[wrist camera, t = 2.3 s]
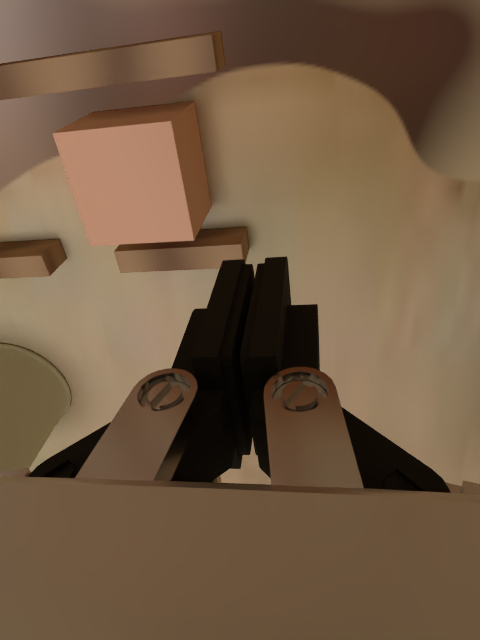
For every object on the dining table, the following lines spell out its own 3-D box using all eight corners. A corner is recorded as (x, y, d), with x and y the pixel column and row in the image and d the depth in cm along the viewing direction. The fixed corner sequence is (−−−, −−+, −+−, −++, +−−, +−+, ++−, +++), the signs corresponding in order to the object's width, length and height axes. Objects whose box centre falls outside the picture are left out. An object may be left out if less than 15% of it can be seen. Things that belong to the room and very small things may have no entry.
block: (194, 100, 25) (170, 121, 21) (211, 205, 28) (194, 240, 24) (93, 112, 26) (52, 133, 22) (121, 211, 29) (90, 245, 25)
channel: (220, 31, 23) (204, 36, 20) (249, 248, 30) (240, 279, 26) (-162, 87, 27) (-227, 100, 24) (-62, 265, 34) (-102, 293, 31)
